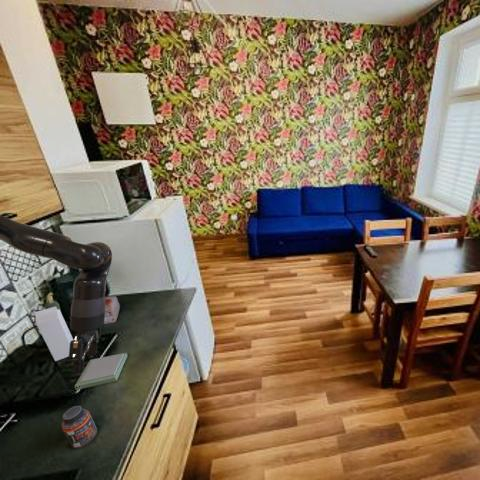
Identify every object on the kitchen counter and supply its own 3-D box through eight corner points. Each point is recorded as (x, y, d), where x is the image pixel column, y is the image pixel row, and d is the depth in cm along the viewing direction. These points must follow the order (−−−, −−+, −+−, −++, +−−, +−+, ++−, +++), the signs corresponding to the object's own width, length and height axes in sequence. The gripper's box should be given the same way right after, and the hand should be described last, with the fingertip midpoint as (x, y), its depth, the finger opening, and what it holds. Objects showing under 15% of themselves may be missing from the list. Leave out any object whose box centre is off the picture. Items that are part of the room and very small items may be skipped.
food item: (118, 323, 124) (111, 306, 120) (96, 329, 120) (89, 311, 116) (122, 307, 135) (116, 291, 131) (102, 312, 131) (96, 295, 127)
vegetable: (57, 336, 116) (39, 298, 108) (56, 332, 118) (38, 294, 111) (71, 331, 119) (53, 293, 111) (69, 327, 121) (52, 289, 114)
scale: (75, 391, 92) (72, 385, 90) (91, 364, 102) (88, 358, 101) (117, 382, 95) (114, 376, 94) (128, 357, 106) (126, 351, 104)
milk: (76, 355, 106) (55, 310, 98) (55, 363, 103) (32, 317, 94) (76, 346, 111) (56, 302, 102) (56, 353, 107) (34, 308, 99)
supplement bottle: (82, 452, 74) (68, 426, 70) (66, 446, 76) (51, 420, 71) (103, 430, 80) (91, 404, 75) (87, 425, 81) (74, 400, 77)
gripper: (83, 302, 82) (80, 351, 84) (58, 321, 69) (55, 379, 71) (113, 302, 85) (109, 350, 86) (93, 321, 72) (90, 377, 73)
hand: (85, 363), depth 79 cm, fingers open, 8 cm apart
